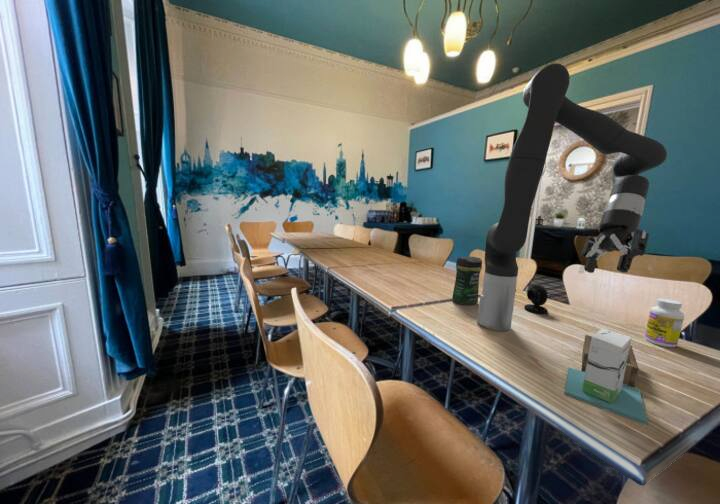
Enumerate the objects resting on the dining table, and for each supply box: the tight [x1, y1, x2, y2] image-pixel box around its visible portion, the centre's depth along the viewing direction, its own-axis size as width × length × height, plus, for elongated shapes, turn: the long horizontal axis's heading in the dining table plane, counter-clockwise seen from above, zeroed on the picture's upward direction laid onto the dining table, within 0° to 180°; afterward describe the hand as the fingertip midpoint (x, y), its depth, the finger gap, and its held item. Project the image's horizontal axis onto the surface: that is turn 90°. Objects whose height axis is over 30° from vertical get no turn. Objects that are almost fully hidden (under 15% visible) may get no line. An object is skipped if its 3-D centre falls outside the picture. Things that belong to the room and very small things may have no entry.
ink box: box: [582, 328, 633, 403], centre depth 57 cm, size 9×5×12 cm, turn 127°
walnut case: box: [581, 334, 639, 388], centre depth 67 cm, size 9×13×4 cm
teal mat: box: [563, 366, 649, 425], centre depth 58 cm, size 12×12×1 cm
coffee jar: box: [451, 256, 483, 306], centre depth 110 cm, size 10×8×19 cm
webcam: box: [523, 284, 549, 315], centre depth 104 cm, size 8×8×10 cm
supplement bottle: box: [644, 297, 685, 348], centre depth 81 cm, size 7×7×13 cm
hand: (604, 271), depth 71 cm, fingers open, 8 cm apart
